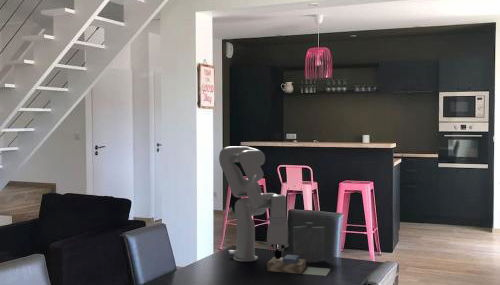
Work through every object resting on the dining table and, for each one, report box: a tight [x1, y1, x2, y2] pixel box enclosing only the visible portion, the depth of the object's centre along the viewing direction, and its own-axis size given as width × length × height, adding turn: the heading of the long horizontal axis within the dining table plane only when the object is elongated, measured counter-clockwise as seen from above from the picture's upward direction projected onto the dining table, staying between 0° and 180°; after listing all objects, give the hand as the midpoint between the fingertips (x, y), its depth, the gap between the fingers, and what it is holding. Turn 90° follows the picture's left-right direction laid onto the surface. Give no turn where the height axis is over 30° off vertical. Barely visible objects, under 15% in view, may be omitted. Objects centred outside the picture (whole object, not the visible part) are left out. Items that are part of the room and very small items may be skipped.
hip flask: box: [292, 221, 326, 263], centre depth 274 cm, size 16×4×20 cm, turn 94°
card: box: [282, 254, 299, 264], centre depth 258 cm, size 6×9×2 cm, turn 163°
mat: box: [301, 266, 331, 277], centre depth 254 cm, size 11×13×1 cm
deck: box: [266, 256, 307, 275], centre depth 258 cm, size 16×12×4 cm
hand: (278, 258), depth 260 cm, fingers closed
